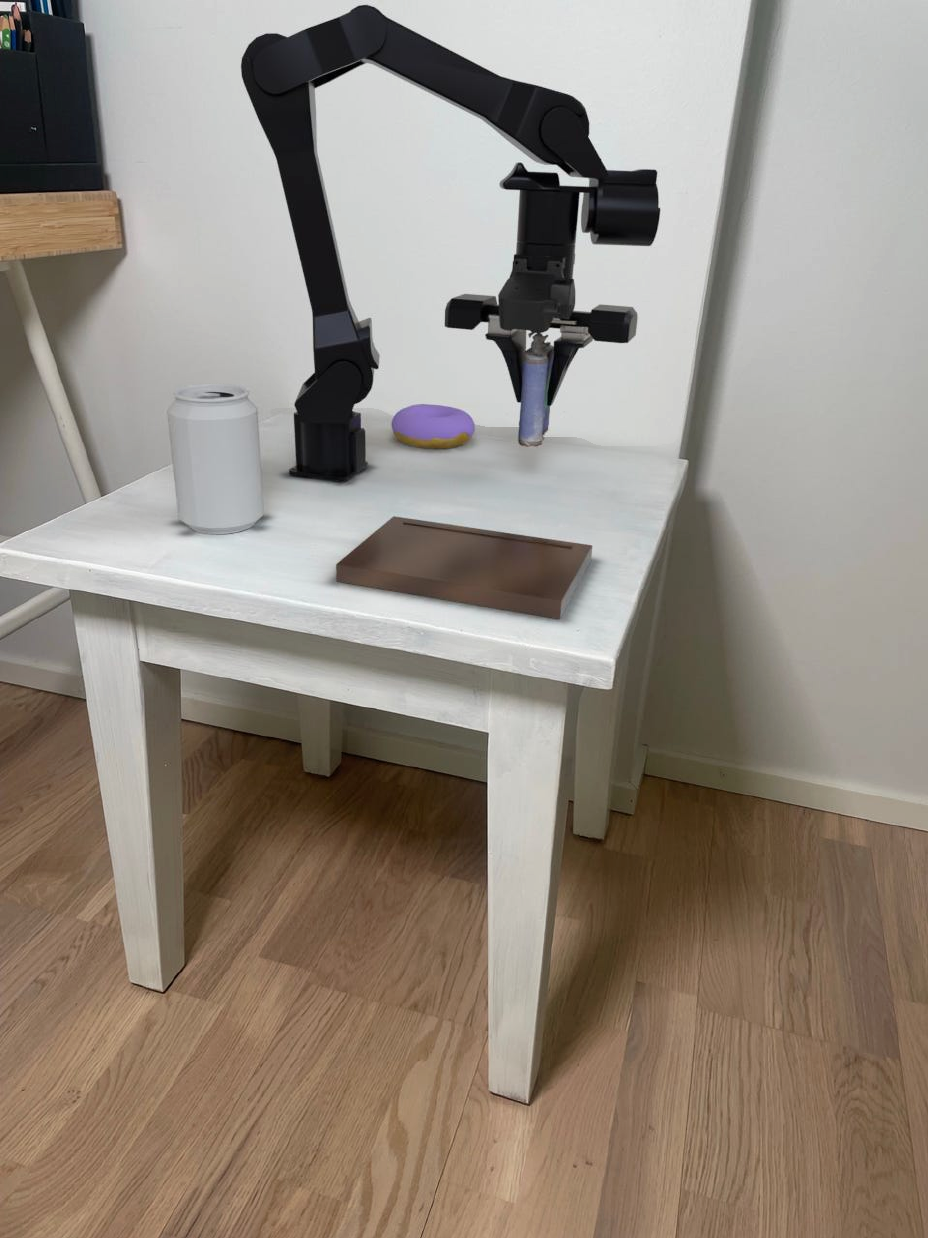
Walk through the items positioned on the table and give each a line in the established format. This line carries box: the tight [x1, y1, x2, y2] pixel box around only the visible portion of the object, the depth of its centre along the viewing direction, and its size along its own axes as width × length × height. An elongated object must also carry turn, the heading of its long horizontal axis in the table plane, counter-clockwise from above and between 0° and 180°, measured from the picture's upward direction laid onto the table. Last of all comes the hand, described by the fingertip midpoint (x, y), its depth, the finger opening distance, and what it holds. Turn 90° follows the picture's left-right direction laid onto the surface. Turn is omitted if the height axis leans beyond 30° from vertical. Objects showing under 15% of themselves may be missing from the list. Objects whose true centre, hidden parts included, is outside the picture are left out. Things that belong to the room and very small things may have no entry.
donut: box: [391, 403, 476, 450], centre depth 109 cm, size 10×9×5 cm
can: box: [166, 383, 265, 535], centre depth 81 cm, size 8×8×12 cm
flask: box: [517, 331, 554, 449], centre depth 96 cm, size 9×3×11 cm, turn 169°
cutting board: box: [335, 515, 593, 620], centre depth 75 cm, size 18×12×2 cm, turn 72°
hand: (534, 403), depth 96 cm, fingers closed on flask, 3 cm apart
